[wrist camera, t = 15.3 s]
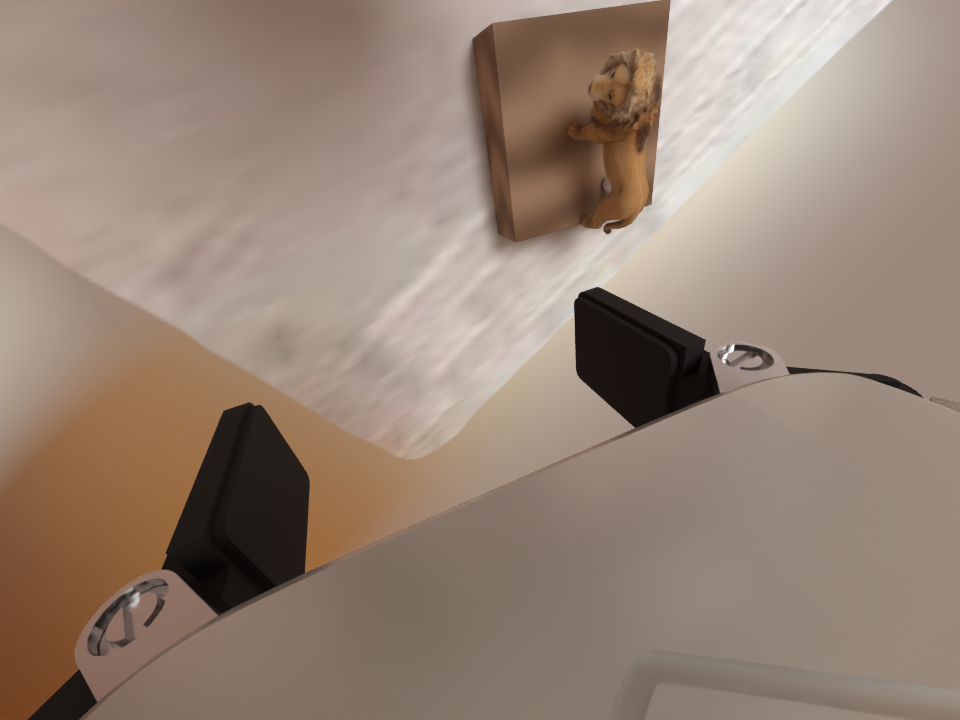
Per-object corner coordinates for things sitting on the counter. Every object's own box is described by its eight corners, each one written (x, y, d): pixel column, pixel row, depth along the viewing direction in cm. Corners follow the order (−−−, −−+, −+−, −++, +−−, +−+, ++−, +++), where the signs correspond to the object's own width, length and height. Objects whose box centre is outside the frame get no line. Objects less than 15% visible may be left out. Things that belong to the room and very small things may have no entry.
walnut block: (470, 40, 30) (492, 23, 26) (629, 17, 34) (670, -2, 30) (496, 232, 39) (515, 242, 35) (620, 199, 42) (651, 204, 38)
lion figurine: (540, 86, 29) (609, 64, 22) (594, 53, 30) (680, 20, 22) (585, 245, 38) (646, 267, 30) (627, 218, 38) (697, 234, 31)
